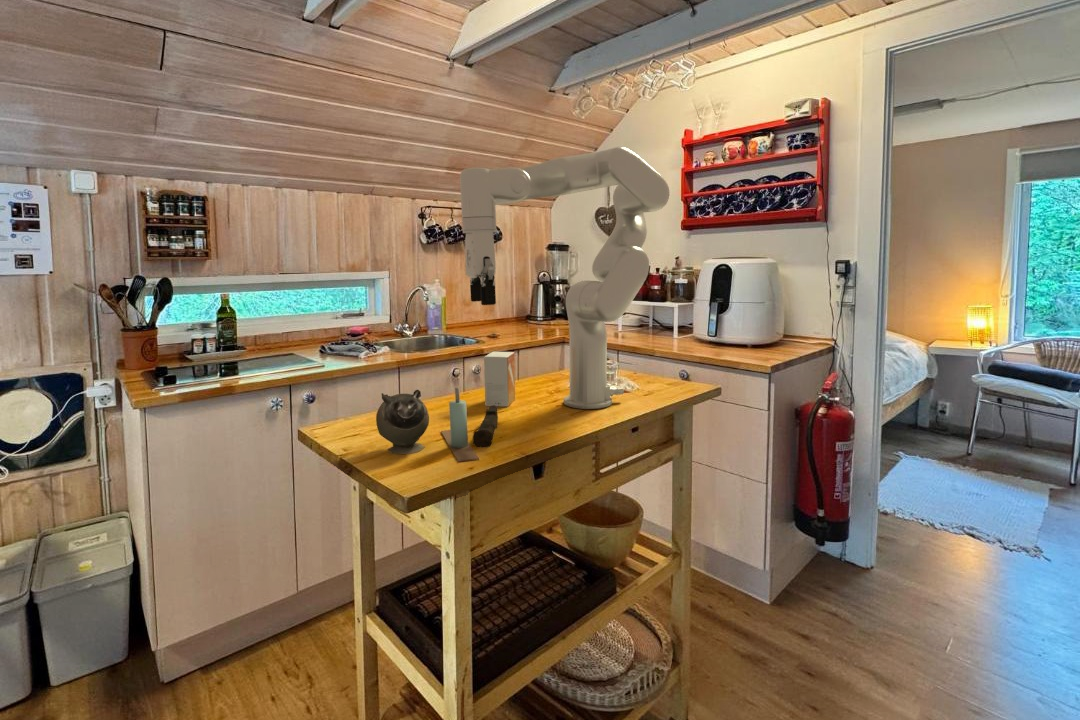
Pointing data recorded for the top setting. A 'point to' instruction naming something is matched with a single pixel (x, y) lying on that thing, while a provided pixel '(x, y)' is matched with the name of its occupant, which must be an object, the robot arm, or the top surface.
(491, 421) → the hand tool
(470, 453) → the joist strip
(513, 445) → the top surface
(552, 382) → the top surface
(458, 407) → the green ice pop
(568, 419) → the top surface
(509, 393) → the small box
